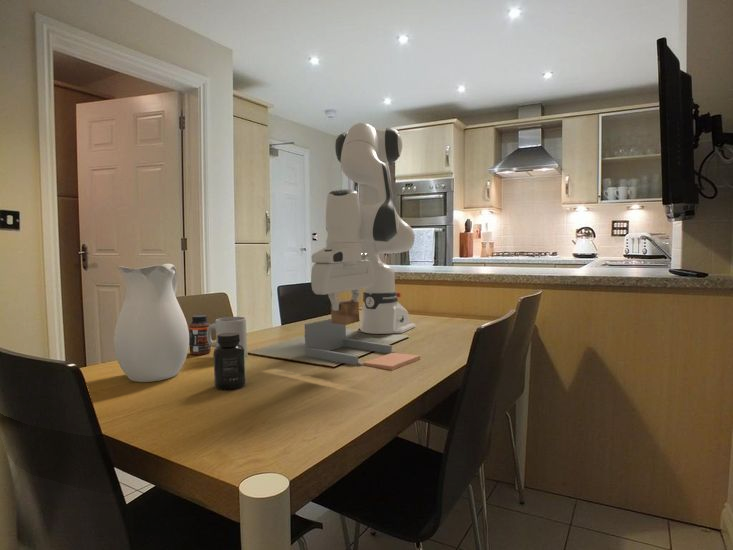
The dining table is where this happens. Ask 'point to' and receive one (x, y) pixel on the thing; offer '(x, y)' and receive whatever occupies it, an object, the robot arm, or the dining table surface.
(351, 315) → the block
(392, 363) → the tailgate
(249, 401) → the dining table surface
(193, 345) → the supplement bottle
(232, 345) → the supplement bottle
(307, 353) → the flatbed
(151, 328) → the pitcher
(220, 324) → the mug
